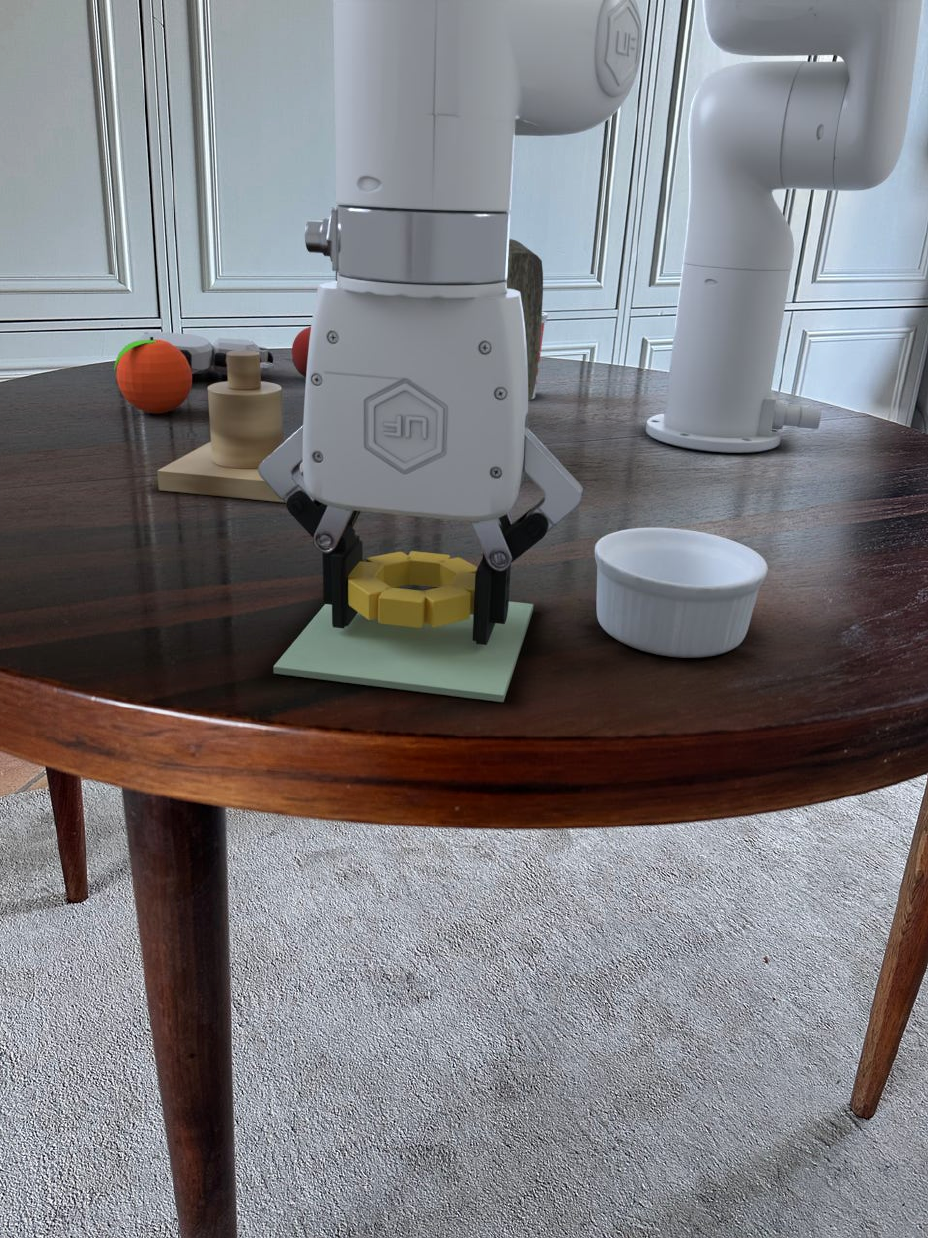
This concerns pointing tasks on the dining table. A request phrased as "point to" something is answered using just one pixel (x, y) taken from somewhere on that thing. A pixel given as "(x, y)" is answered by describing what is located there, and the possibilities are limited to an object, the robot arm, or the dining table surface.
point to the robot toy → (210, 351)
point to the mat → (410, 655)
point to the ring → (413, 607)
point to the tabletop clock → (528, 300)
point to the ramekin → (676, 590)
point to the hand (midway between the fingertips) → (415, 622)
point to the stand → (233, 436)
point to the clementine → (153, 375)
